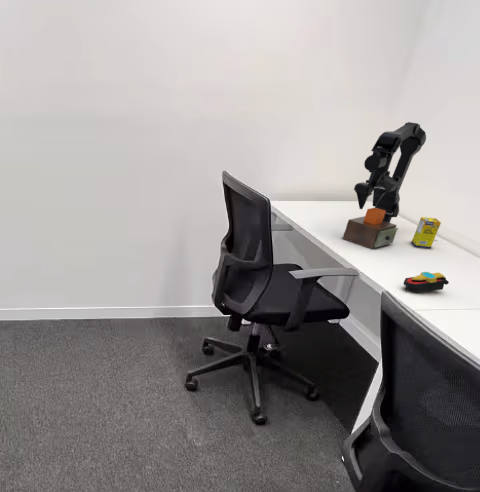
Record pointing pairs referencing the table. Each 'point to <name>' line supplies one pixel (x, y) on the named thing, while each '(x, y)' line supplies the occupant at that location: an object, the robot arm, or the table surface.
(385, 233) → the drawer
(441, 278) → the gadget
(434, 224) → the supplement box
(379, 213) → the orange cube
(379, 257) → the table surface
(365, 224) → the cabinet
